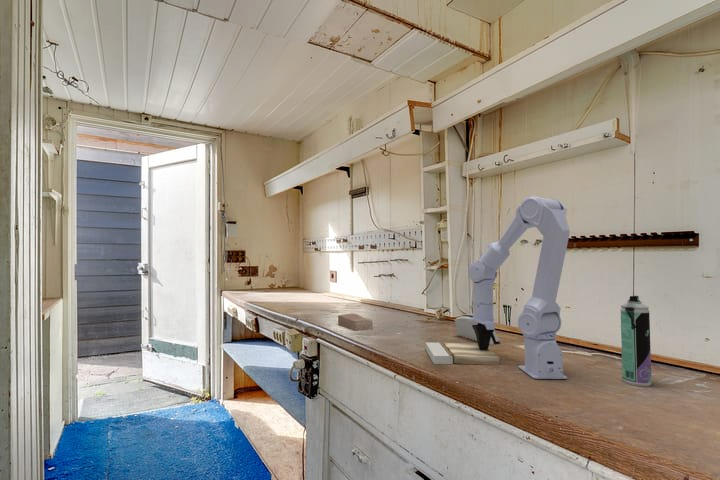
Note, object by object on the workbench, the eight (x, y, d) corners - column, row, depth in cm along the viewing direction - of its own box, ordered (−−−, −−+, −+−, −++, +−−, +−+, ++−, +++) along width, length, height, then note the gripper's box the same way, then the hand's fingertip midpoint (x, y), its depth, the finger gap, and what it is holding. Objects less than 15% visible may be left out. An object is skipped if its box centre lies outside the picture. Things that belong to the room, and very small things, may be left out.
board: (452, 364, 104) (452, 354, 104) (434, 364, 104) (433, 354, 104) (441, 349, 120) (441, 341, 120) (425, 349, 120) (425, 341, 120)
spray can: (653, 388, 85) (650, 297, 86) (623, 383, 88) (620, 296, 89) (650, 381, 89) (647, 295, 90) (621, 377, 92) (619, 294, 93)
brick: (373, 330, 153) (373, 318, 153) (355, 332, 149) (355, 319, 149) (354, 323, 168) (354, 313, 168) (337, 325, 164) (337, 314, 164)
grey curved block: (502, 343, 128) (494, 316, 127) (492, 349, 126) (484, 321, 125) (467, 334, 143) (460, 309, 142) (458, 339, 141) (451, 314, 140)
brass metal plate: (499, 364, 103) (499, 357, 103) (454, 363, 104) (454, 355, 104) (482, 350, 119) (482, 343, 119) (443, 349, 120) (443, 342, 120)
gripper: (463, 300, 119) (463, 344, 119) (475, 306, 105) (476, 356, 104) (485, 300, 119) (486, 344, 119) (501, 306, 105) (502, 356, 104)
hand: (483, 350), depth 111 cm, fingers closed, pressing on brass metal plate
